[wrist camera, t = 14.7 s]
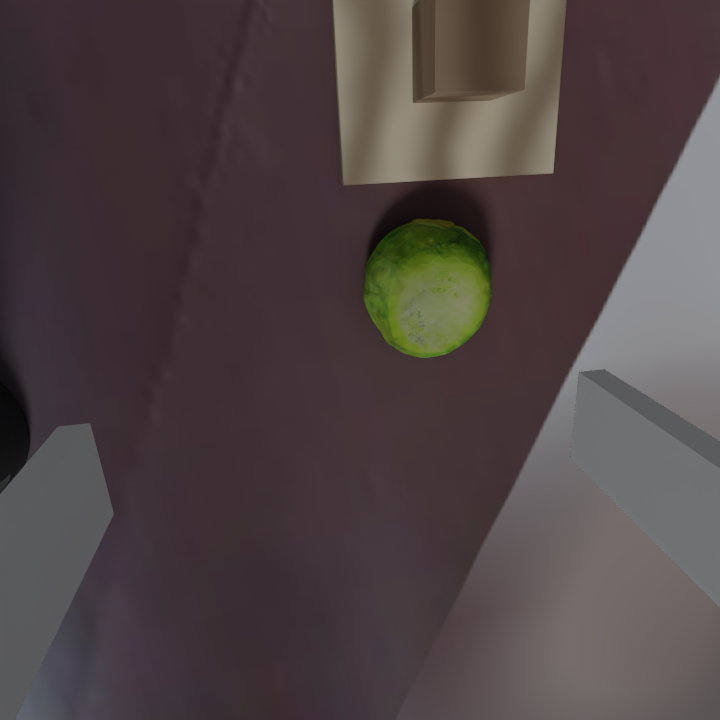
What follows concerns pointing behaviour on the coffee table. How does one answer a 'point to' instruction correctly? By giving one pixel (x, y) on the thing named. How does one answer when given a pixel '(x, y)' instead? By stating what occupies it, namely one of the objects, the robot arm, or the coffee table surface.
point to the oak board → (438, 103)
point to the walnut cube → (468, 49)
